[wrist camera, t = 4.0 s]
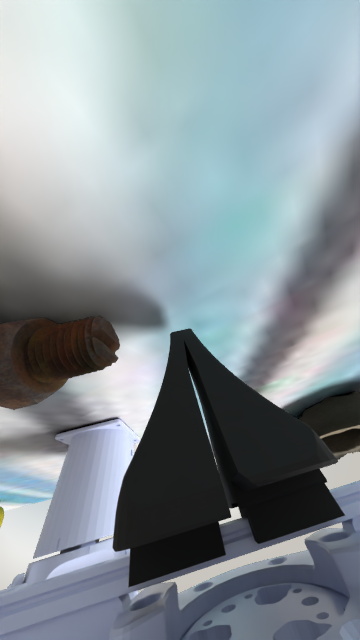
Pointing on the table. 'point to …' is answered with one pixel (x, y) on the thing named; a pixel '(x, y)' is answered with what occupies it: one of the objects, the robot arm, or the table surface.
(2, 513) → the lemon
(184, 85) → the table surface
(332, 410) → the stone bowl
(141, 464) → the robot arm
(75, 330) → the bolt
